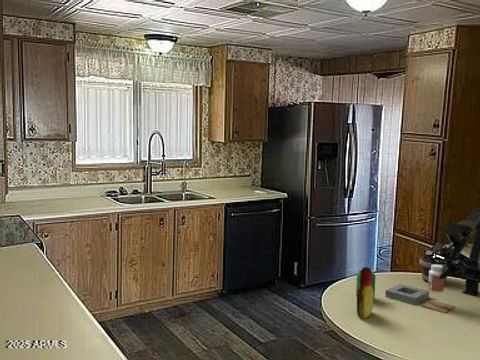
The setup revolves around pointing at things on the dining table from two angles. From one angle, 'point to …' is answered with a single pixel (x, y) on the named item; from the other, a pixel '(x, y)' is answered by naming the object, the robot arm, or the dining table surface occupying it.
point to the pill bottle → (436, 279)
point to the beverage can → (371, 283)
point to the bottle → (365, 294)
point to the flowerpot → (425, 267)
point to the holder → (407, 294)
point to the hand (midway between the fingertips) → (434, 276)
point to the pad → (438, 306)
